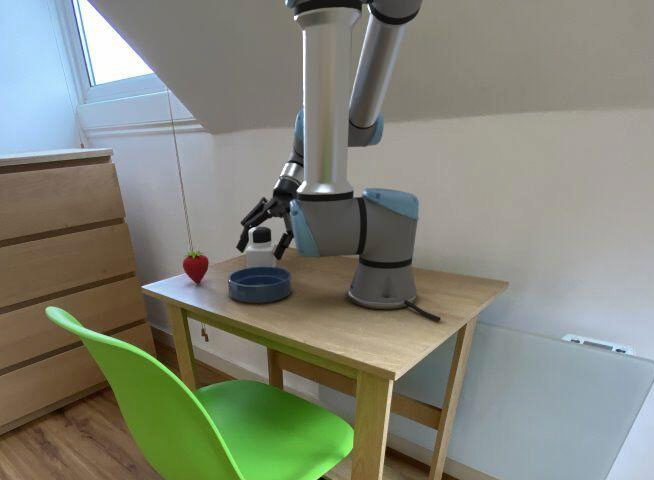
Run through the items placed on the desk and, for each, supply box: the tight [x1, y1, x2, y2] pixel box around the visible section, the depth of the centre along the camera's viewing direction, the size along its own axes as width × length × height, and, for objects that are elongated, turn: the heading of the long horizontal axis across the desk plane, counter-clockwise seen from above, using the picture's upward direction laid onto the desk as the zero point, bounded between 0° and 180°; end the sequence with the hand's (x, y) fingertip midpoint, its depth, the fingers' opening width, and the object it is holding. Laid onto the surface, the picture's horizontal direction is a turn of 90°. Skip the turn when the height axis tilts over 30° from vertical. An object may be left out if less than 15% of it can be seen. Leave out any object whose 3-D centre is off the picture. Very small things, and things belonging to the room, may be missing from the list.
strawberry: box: [182, 247, 210, 285], centre depth 113 cm, size 6×8×10 cm
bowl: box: [227, 266, 292, 304], centre depth 106 cm, size 15×15×4 cm
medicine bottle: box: [245, 226, 277, 268], centre depth 118 cm, size 7×7×12 cm
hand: (257, 253), depth 118 cm, fingers open, 13 cm apart
